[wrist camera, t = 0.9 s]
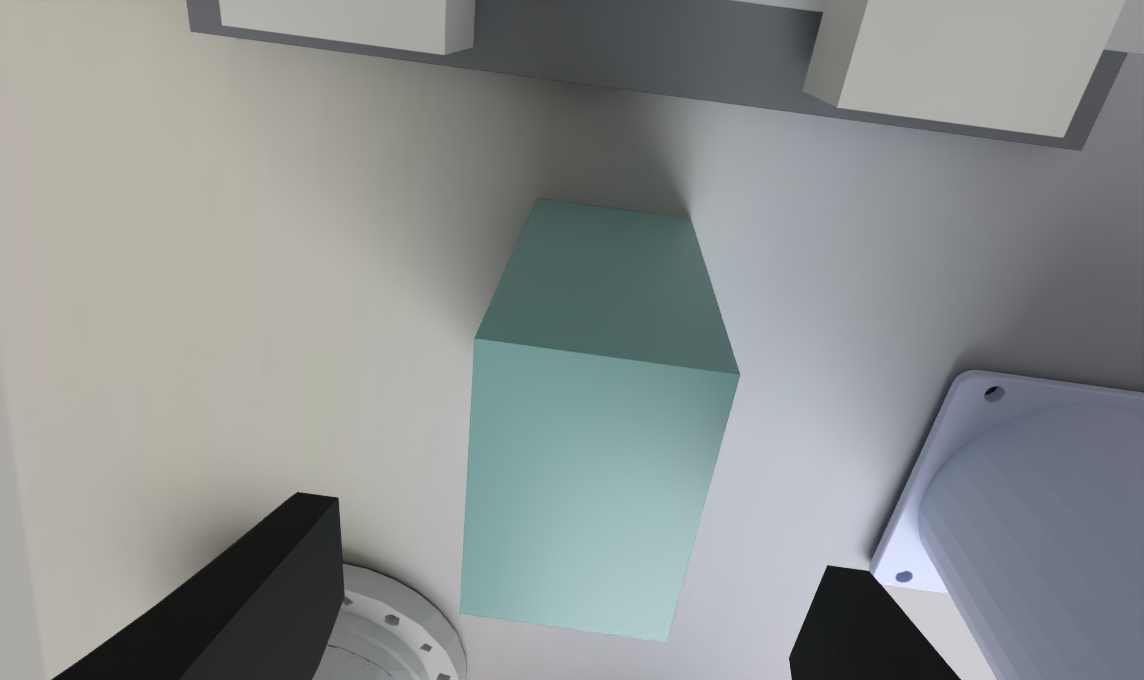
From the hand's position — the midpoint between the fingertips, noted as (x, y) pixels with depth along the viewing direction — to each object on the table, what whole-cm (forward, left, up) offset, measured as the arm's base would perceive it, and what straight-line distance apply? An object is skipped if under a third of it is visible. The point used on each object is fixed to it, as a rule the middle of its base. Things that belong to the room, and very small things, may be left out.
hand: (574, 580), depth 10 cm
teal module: (0, 0, -10) cm, 10 cm away
